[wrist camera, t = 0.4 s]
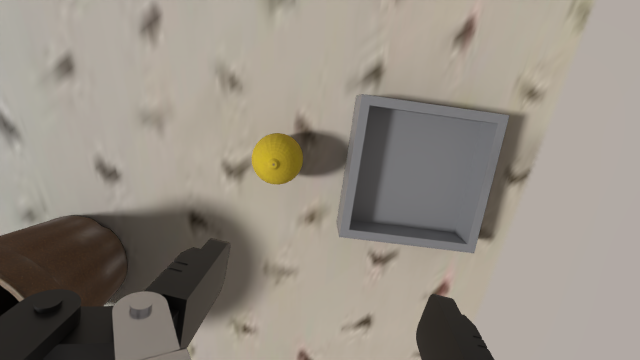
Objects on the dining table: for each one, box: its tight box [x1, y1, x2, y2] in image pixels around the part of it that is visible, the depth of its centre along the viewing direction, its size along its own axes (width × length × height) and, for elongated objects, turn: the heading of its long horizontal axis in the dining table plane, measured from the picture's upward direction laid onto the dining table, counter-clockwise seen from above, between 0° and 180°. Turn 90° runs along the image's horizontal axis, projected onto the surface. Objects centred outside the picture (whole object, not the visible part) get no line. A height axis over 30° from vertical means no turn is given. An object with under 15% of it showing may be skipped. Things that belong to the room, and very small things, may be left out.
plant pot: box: [0, 216, 127, 316], centre depth 34 cm, size 16×16×16 cm
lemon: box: [252, 133, 303, 184], centre depth 36 cm, size 6×6×8 cm
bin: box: [337, 94, 509, 253], centre depth 38 cm, size 16×16×4 cm
